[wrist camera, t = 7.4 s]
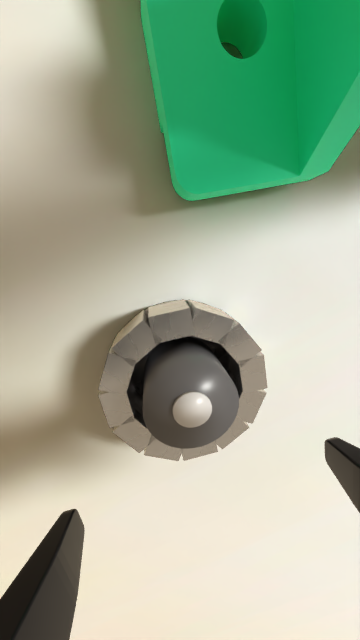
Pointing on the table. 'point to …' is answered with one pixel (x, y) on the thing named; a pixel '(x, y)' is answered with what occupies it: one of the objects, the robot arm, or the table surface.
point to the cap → (187, 394)
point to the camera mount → (252, 89)
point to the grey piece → (164, 325)
